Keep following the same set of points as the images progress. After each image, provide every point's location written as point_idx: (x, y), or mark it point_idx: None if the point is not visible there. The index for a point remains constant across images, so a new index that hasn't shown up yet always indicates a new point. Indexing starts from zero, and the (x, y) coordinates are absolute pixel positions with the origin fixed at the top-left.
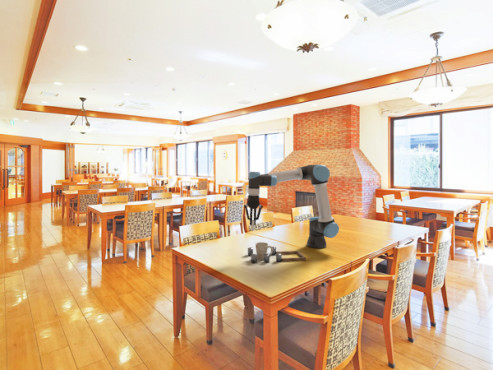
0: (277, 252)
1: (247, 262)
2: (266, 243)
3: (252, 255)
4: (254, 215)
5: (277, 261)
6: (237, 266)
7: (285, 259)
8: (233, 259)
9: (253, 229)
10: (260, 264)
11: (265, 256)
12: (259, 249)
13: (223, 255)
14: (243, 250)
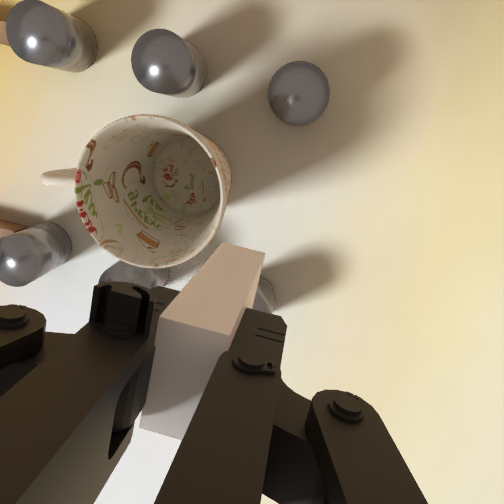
0: (7, 228)
1: (355, 120)
2: (82, 206)
3: (323, 77)
4: (67, 428)
5: (88, 27)
6: (491, 46)
7: (3, 22)
8: (442, 244)
9: (227, 250)
10: (263, 24)
11: (187, 45)
12: (208, 141)
13: (481, 376)
14: None
